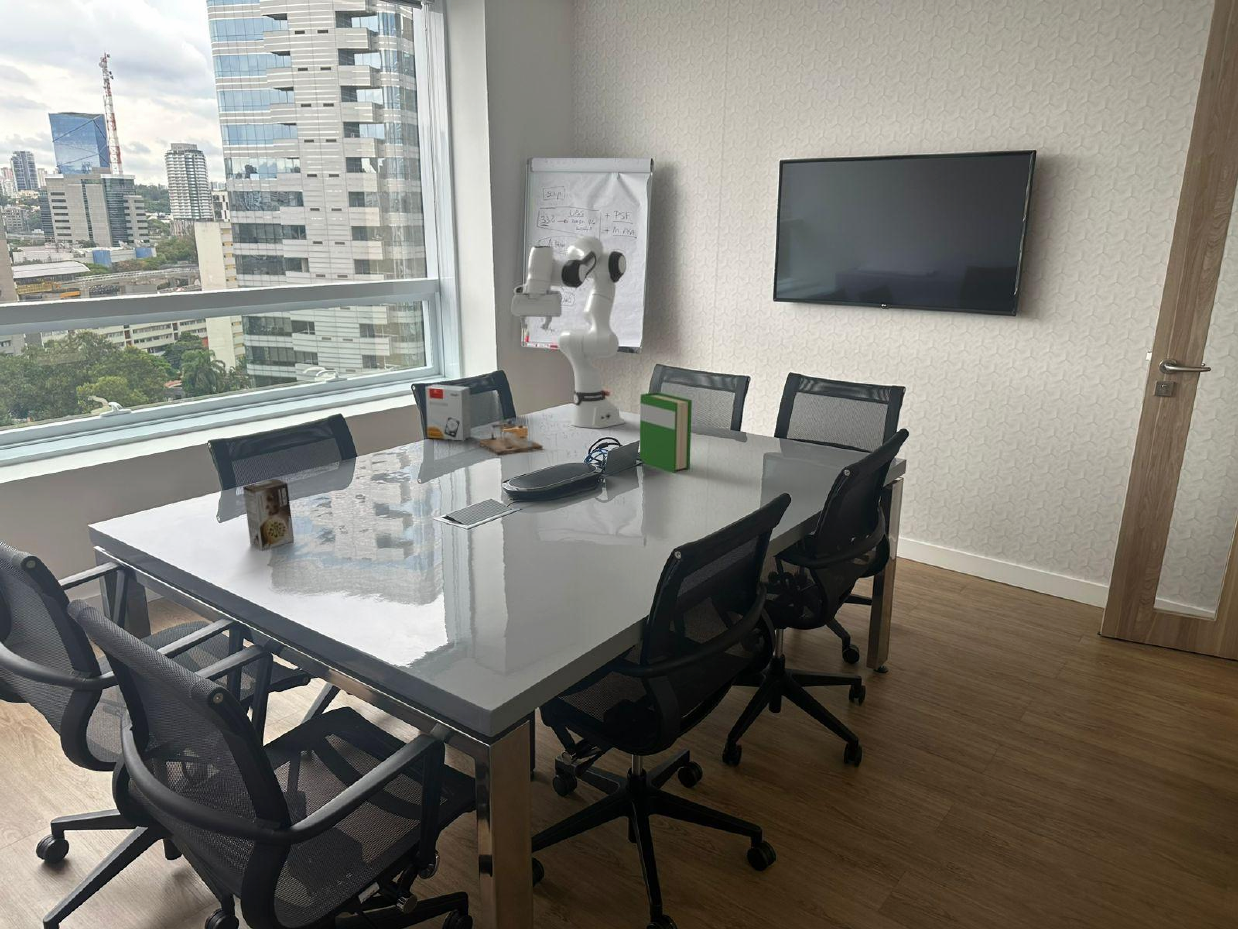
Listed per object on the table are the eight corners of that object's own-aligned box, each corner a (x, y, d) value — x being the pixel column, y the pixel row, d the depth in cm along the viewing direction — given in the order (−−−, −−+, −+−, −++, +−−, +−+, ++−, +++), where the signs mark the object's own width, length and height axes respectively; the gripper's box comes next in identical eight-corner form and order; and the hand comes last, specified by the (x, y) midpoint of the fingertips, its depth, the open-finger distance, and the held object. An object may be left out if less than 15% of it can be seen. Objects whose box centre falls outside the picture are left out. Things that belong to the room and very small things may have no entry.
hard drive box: (426, 438, 334) (423, 387, 328) (436, 433, 341) (433, 384, 336) (463, 441, 330) (460, 389, 324) (472, 436, 337) (470, 386, 331)
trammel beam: (513, 435, 334) (512, 419, 332) (534, 446, 318) (533, 429, 316) (490, 438, 330) (489, 421, 328) (510, 449, 314) (510, 432, 312)
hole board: (520, 437, 336) (520, 434, 336) (542, 448, 320) (542, 445, 319) (476, 442, 327) (476, 439, 327) (497, 455, 311) (496, 451, 310)
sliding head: (523, 439, 326) (523, 423, 324) (527, 441, 323) (527, 425, 321) (500, 442, 321) (500, 426, 319) (504, 444, 318) (503, 428, 316)
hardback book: (689, 469, 294) (691, 400, 288) (673, 473, 290) (675, 402, 283) (655, 458, 308) (656, 391, 301) (639, 461, 303) (640, 394, 297)
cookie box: (281, 535, 231) (275, 477, 226) (294, 541, 227) (288, 482, 222) (249, 545, 224) (242, 485, 220) (262, 551, 220) (255, 490, 216)
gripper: (567, 292, 308) (563, 331, 309) (520, 291, 318) (517, 329, 319) (557, 288, 303) (553, 328, 303) (510, 288, 313) (506, 326, 313)
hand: (534, 329), depth 311 cm, fingers open, 8 cm apart
